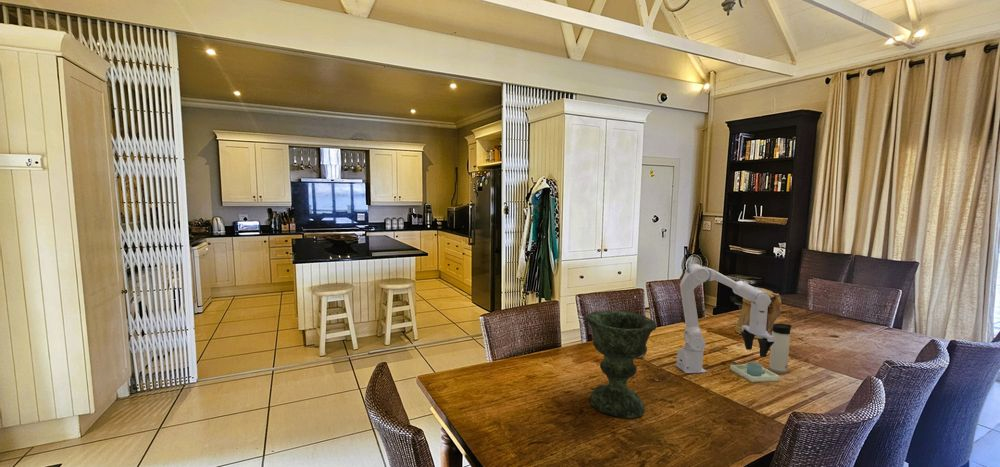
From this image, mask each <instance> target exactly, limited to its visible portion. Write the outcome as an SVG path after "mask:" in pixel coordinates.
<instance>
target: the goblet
mask: <svg viewBox="0 0 1000 467" xmlns="http://www.w3.org/2000/svg"><path fill="white" fill-rule="evenodd" d="M584 319H585V321H586V323H587V324H589V326H590V330H591V331H592V337H593V341H592V344H593V346H594V347H593V348H595V350H596V351H597V352H598V353H599V354H601V355H603V360H602V361H601V362H600V363H599V368H600V370H601V372H602V374H604V375H606V378H607V381H608V384H601V385H598V386H597V387H595V388H594V389H593V390H592V391H591V394H590V396H589V402H590V404H591V406H593V408H595V409H596V410H597V411H599V412H601V413H603V414H605V415H609V416H612V417H617V418H624V419H625V418H626V419H637V418H640V417H642V416H643V415H644V413H645V405H644V402H643V400H642V398H641V397H640V396H639V394H638V393H637V392H635V391H634V390H632V389H630V388H629V387H627V382H628V380H629V379H631V378H632V377H634V376H635V375H636V374H637V370H638V368H637V366H636V364H635V363H634V359H639V358H638V357H640V356H642V355H643V354H644V353H645V352H646V347H647V343H648V340H649V338H650V335H651V333H652V332H653V331H655V330H656V329H657V327H658V324H657V322H655V321H654V320H653V319H651V318H649V317H647V316H645V315H642V314H639V313H634V312H629V311H623V310H599V311H593V312H590V313H588V314H587V315H586V316H585V318H584ZM646 353H647V352H646Z"/></svg>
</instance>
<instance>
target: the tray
mask: <svg viewBox="0 0 1000 467" xmlns="http://www.w3.org/2000/svg"><path fill="white" fill-rule="evenodd" d="M730 370H731V371H732V372H734V373H736V374H737V375H739V376H740V377H742V378H744V379H746V380H747V381H749V382H750V383H765V382H767V383H768V382H780V375H778V374H776V372H773V371H771V370H770V369H767V368H766V367H765V368H764V367H763V366H762V370H764V371H765V374H762V376H757V377H756V376H751V375H749V374H747V363H746V364H730Z"/></svg>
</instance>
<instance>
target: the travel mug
mask: <svg viewBox="0 0 1000 467" xmlns="http://www.w3.org/2000/svg"><path fill="white" fill-rule="evenodd" d="M791 329H792V325H791V324H788V323H774V324H773V329H772V336H773V337H774V343H773V345H772V346H771V347H770V351H769V352H770V353H769V355H770V356H769V366H768V368H769V369H768V370H769V371H771V372H773V373H775V374H776V373H777V374H782V375H783V374H784V375H785V374H787V373H788V366H789V355H790V353H789V352H790V343H791Z"/></svg>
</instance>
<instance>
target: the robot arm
mask: <svg viewBox="0 0 1000 467" xmlns="http://www.w3.org/2000/svg"><path fill="white" fill-rule="evenodd" d="M707 281H709V282H712V281H717V282H718V283H721V284H723V285H725V286H727V287H729V288H731V289H732V292H733V293H734V294H735V295H738V296H739V297H742V299H743V298H745V299H747V300H749V301H751V312H750V325H749V326H747V325H742V330H743V332H741V334H740V335H741V337H742V339H743V343H744V346H745V350H747V351H749V350H750V351H751V350H752V349H753V345H754V339H755V338H754V337H755V335H756V336H759V337H761V338H763V339H757V342H758V346H759V357H761V358H766V357H767V354H768V353H769V350H771V346H772V345H773V343H774V337H773V336H771V335H770V334H768V331H766V323H767V309H768V306H769V305H770V303H771V300H770V296H769V295H768V294H767V293H765V292H763V291H761V290H760V289H759V288H760V287H756V286H752V285H750V284H749V282H748V281H747V280H738V281H735V280H734V279H732V278H730V277H728V276H726V275H724V274H722V273H720V272H718V271H717V270H715V269H713V268H710V267H707V266H704V265H701V264H699V263H692V264H690V265H689V266H688V267H687V268H686V269H685V270H684V274H683V277H682V279H681V281H680V284H679V288H680V295H681V302H682V307H683V309H682V310H683V315H684V316H683V317H684V321H685V326H684V334H683V338H684V341H685V344H684V345H683V347H682V348H679V349H678V350H677V352H676V364H675V367H677V368H678V369H679V370H681V371H682V372H684V373H686V374H696V373H697V374H699V373H700V374H701V373H708V371H707V370H706V369H705V368H703V365H704V364H703V362H704V361H703V360H704V349H705V347H706V340H705V339H704V338H703V336H702V331H701V329H700V325H699V316H698V311H697V304H696V299H695V298H696V296H695V289H696V288H697V287H698V286H699V285H701V284H703V283H705V282H707ZM755 287H756V288H755ZM754 303H755V304H754Z"/></svg>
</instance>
